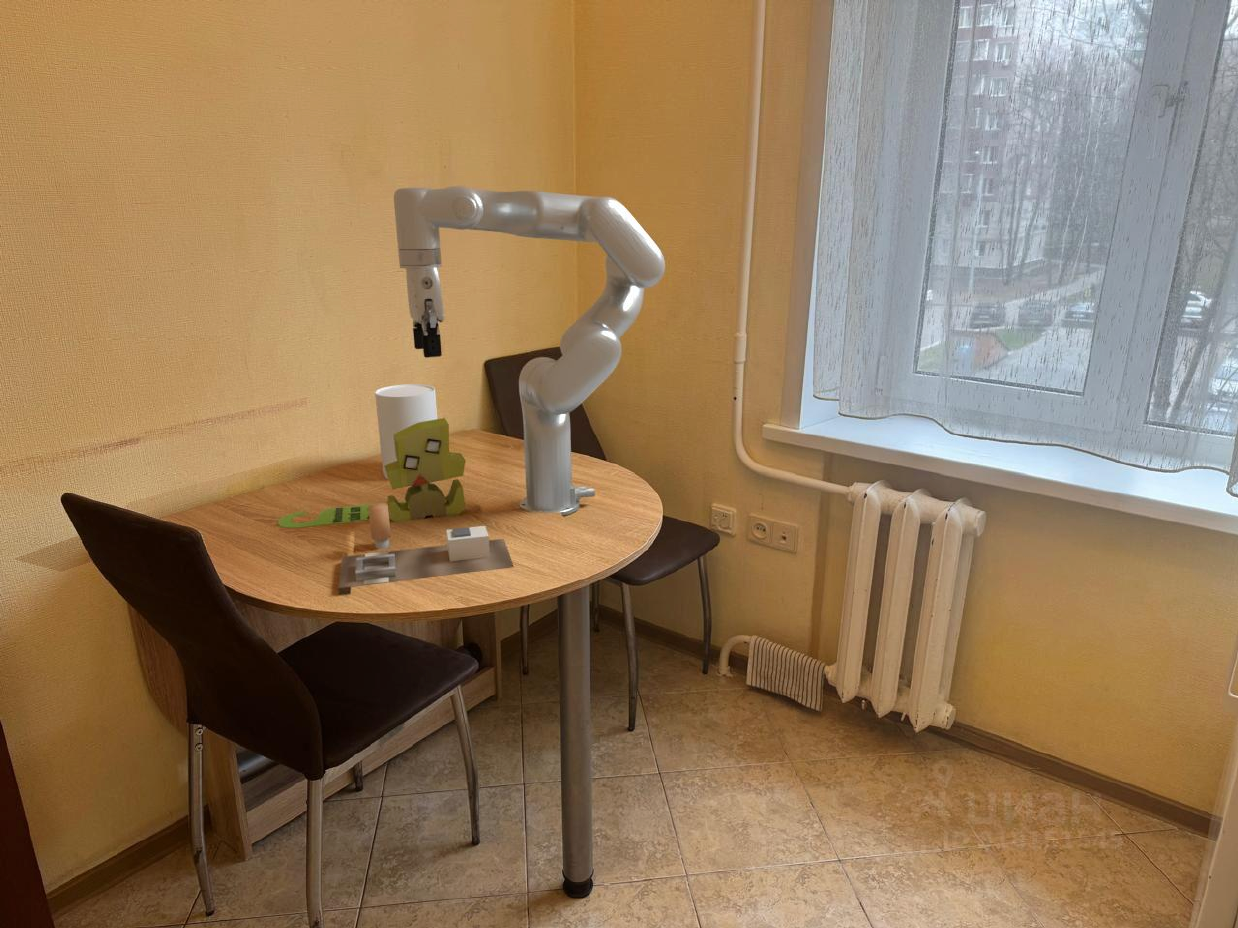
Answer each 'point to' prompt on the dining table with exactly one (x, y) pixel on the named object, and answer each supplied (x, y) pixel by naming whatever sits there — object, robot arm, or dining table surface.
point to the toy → (425, 473)
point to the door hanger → (330, 516)
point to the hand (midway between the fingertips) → (427, 352)
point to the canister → (402, 413)
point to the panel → (415, 565)
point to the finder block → (468, 543)
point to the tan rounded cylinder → (380, 524)
